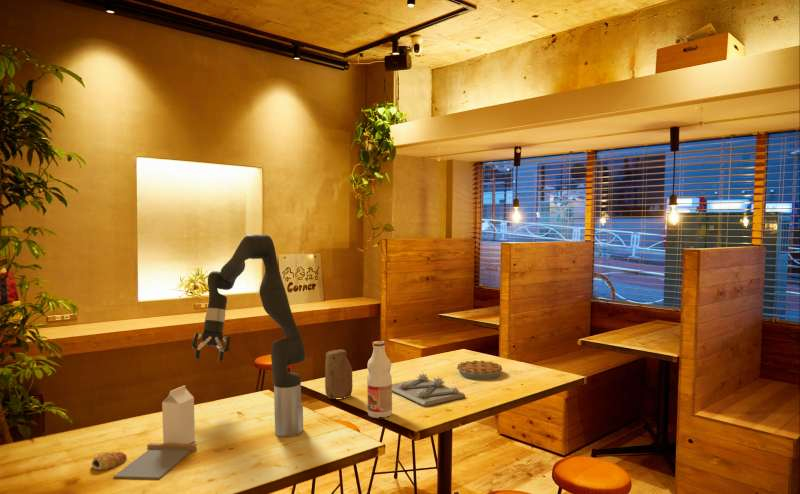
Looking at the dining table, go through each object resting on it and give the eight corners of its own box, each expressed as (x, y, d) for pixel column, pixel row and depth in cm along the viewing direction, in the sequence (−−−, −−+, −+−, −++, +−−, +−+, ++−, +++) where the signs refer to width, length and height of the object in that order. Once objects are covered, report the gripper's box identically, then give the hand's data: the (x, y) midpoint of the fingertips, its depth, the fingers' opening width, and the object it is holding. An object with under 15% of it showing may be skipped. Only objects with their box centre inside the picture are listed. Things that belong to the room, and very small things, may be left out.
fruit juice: (391, 418, 206) (390, 344, 205) (366, 418, 206) (365, 344, 205) (392, 410, 215) (391, 339, 214) (368, 410, 215) (367, 339, 214)
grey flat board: (196, 449, 180) (196, 444, 180) (162, 479, 159) (162, 473, 159) (149, 448, 181) (149, 443, 181) (110, 477, 160) (110, 471, 160)
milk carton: (195, 441, 187) (193, 386, 186) (180, 449, 180) (178, 392, 179) (178, 438, 189) (176, 384, 188) (163, 446, 183) (161, 390, 182)
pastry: (119, 456, 175) (119, 445, 175) (131, 461, 172) (131, 449, 172) (89, 467, 168) (89, 455, 167) (101, 473, 164) (100, 460, 164)
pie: (506, 380, 255) (506, 369, 254) (459, 381, 255) (458, 370, 255) (498, 368, 276) (498, 358, 276) (454, 368, 277) (454, 358, 277)
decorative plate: (385, 390, 243) (385, 374, 243) (424, 382, 255) (424, 367, 254) (424, 409, 218) (424, 391, 217) (466, 399, 229) (466, 382, 229)
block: (330, 401, 227) (329, 353, 226) (324, 396, 233) (323, 350, 233) (354, 397, 232) (353, 350, 231) (348, 393, 238) (347, 347, 237)
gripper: (198, 317, 216) (192, 359, 212) (234, 322, 223) (228, 362, 219) (194, 318, 222) (187, 359, 218) (229, 322, 229) (223, 362, 226)
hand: (208, 360), depth 219 cm, fingers open, 8 cm apart
